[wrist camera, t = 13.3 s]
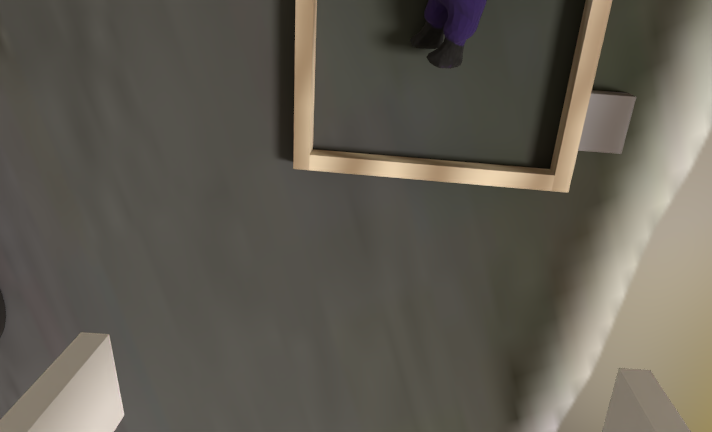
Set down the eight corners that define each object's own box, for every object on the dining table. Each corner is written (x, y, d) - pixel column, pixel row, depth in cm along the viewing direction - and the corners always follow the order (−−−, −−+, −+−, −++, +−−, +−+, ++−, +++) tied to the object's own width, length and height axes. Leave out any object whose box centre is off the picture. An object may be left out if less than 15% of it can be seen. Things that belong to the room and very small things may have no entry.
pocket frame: (297, 162, 42) (293, 168, 41) (302, -184, 33) (298, -192, 32) (603, 188, 41) (610, 196, 39) (694, -167, 32) (707, -174, 30)
